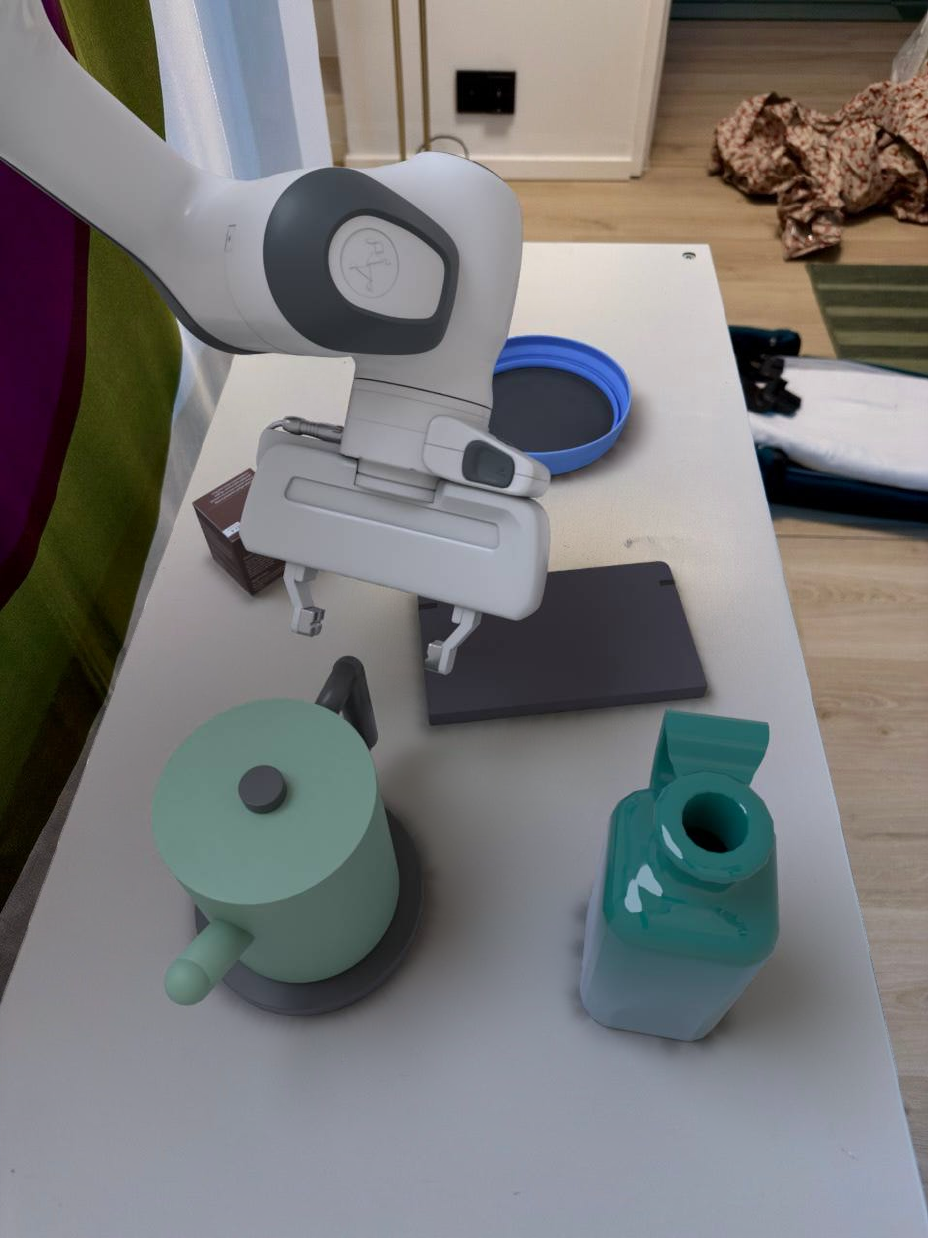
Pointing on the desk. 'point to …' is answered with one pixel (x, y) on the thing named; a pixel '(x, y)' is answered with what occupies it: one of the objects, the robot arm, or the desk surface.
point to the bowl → (558, 400)
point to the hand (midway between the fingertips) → (370, 652)
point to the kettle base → (358, 977)
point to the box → (234, 535)
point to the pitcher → (684, 885)
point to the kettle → (279, 838)
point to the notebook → (569, 648)
